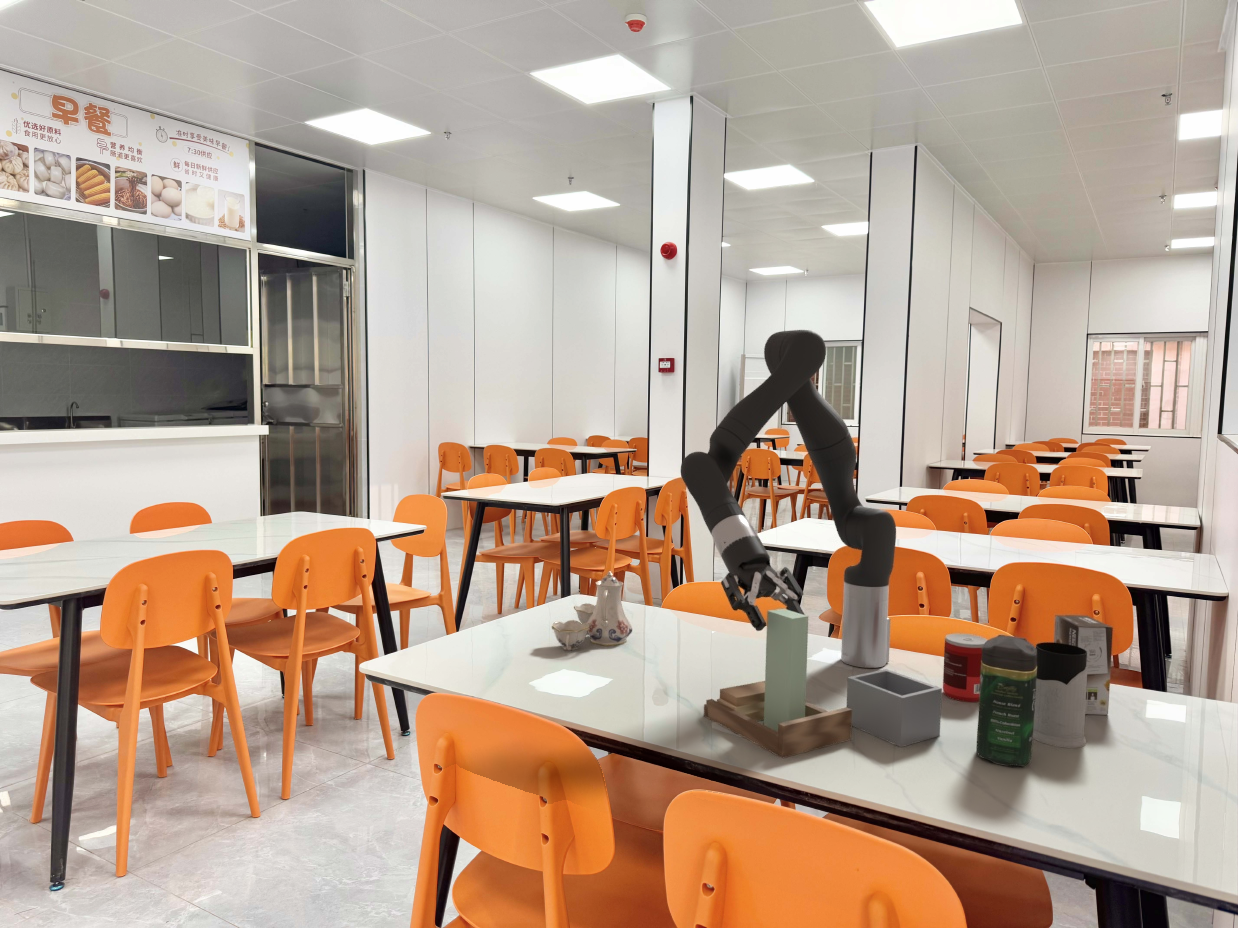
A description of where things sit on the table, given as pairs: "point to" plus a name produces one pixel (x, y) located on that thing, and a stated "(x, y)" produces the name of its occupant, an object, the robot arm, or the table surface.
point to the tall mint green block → (785, 667)
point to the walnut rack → (787, 728)
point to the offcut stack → (745, 699)
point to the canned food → (962, 666)
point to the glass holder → (1060, 695)
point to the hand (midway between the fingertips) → (781, 625)
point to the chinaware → (597, 619)
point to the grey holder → (894, 707)
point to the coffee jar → (1007, 700)
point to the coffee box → (1090, 655)
